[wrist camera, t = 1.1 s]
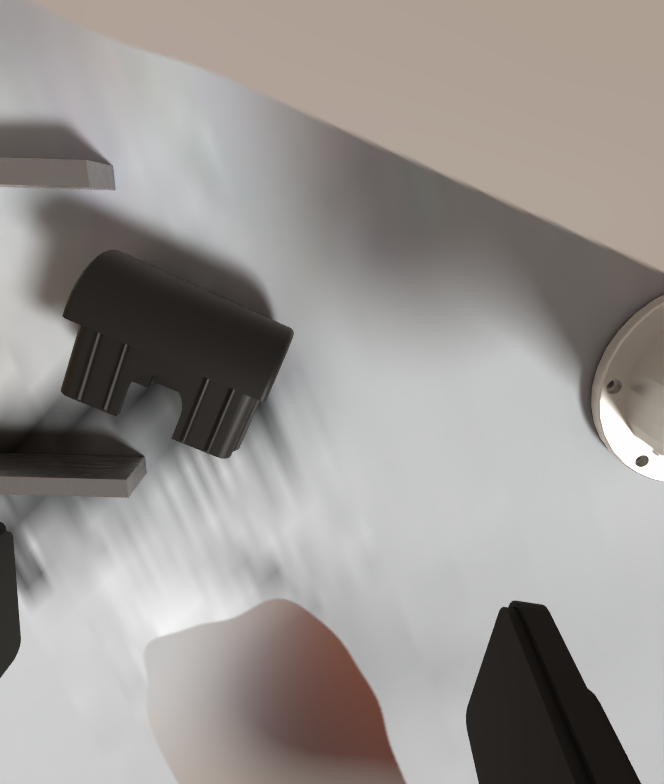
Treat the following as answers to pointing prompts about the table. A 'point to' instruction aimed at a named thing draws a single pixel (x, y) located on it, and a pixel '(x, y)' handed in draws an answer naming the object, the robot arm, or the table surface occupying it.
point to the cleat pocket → (61, 469)
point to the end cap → (171, 349)
